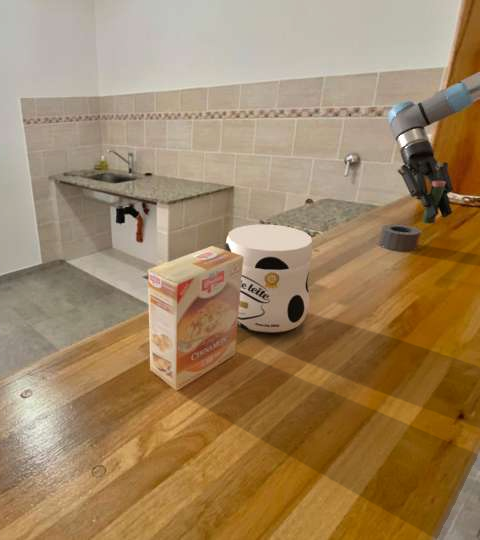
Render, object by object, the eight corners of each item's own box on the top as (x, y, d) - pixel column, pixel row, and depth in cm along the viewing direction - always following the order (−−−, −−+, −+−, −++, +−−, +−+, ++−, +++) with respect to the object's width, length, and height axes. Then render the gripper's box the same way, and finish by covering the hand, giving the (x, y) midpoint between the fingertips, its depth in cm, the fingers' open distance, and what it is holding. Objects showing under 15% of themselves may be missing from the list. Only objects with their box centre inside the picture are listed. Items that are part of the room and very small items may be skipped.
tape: (414, 242, 111) (419, 226, 109) (417, 253, 104) (422, 236, 102) (378, 238, 116) (381, 223, 114) (378, 248, 109) (382, 232, 107)
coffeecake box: (177, 392, 61) (177, 283, 53) (148, 370, 66) (145, 268, 58) (237, 354, 69) (245, 255, 61) (207, 337, 74) (211, 244, 66)
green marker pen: (433, 221, 114) (445, 180, 109) (435, 223, 111) (446, 182, 106) (421, 220, 115) (431, 180, 110) (422, 222, 113) (433, 182, 108)
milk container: (213, 335, 75) (217, 250, 68) (221, 294, 90) (225, 221, 82) (310, 347, 69) (326, 256, 62) (301, 302, 84) (313, 224, 77)
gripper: (433, 154, 120) (459, 220, 112) (381, 157, 121) (403, 223, 112) (451, 138, 113) (480, 207, 105) (395, 141, 114) (420, 210, 105)
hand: (440, 215), depth 108 cm, fingers closed on green marker pen, 3 cm apart
